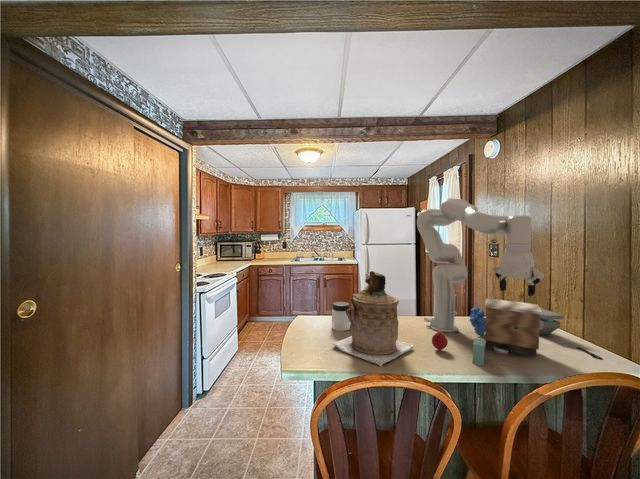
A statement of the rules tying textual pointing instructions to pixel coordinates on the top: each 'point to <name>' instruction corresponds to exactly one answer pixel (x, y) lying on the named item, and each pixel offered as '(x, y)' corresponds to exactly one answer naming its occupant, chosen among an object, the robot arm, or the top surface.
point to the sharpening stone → (548, 321)
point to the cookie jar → (373, 324)
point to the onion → (439, 340)
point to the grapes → (478, 320)
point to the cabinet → (513, 325)
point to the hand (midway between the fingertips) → (516, 292)
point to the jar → (340, 316)
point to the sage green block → (479, 351)
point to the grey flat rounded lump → (501, 350)
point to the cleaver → (570, 345)
